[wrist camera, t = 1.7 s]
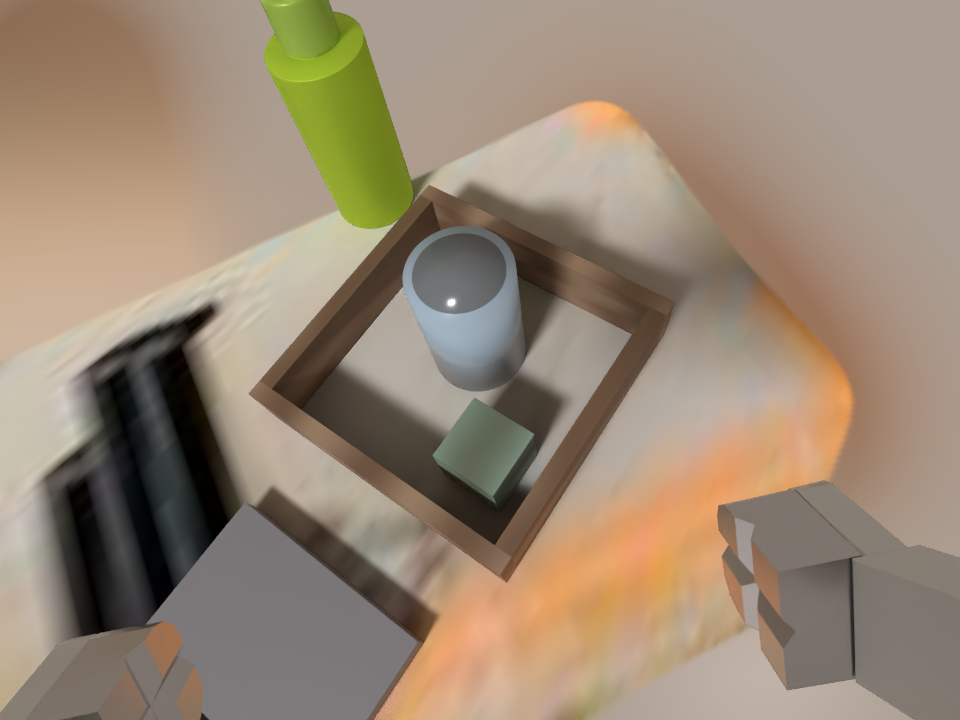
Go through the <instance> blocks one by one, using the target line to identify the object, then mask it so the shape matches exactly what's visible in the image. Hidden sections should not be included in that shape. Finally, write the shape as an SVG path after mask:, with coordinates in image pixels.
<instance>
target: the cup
mask: <svg viewBox="0 0 960 720" xmlns="http://www.w3.org/2000/svg"><path fill="white" fill-rule="evenodd" d="M403 287H404V291H405V294H406V296H407V299H408V301H409V303H410V306H411V308H412V310H413V312H414V315H415V317H416V319H417V321H418V324H419V326H420V328H421V330H422V333H423V335H424V337H425V340H426V342H427V344H428V346H429V349H430V351H431V353H432V355H433V358H434V360H435V362H436V364H437V367H438V369H439V371H440V372H441V374H442V375H443V376H444V378H445V379H446V380H447V381H449V382H450V383H451V384H453V385H454V386H456V387H458V388H461V389H464V390H468V391H487V390H491V389H494V388H497V387H499V386H501V385H503V384H505V383H506V382H508V381H509V380H510V379H511V378H512V377H513V376H514V375H515V374H516V373H517V372H518V370H519V369H520V367H521V365H522V363H523V360H524V357H525V351H526V345H525V336H524V328H523V320H522V311H521V303H520V295H519V287H518V278H517V270H516V263H515V258H514V255H513V253H512V251H511V249H510V248H509V246H508V245H507V244H506V243H505V242H504V240H503V239H501V238H500V237H499V236H497V235H496V234H494V233H492V232H490V231H488V230H486V229H482V228H479V227H473V226H456V227H450V228H447V229H443V230H441V231H438V232H436V233H434V234H432V235H430V236H428V237H427V238H425V239H424V240H423V241H422V242H420V243H419V244H418V245H417V246H416V247H415V248H414V250H413V251H412V252H411V254H410V255H409V257H408V259H407V261H406V264H405V266H404V270H403Z"/></svg>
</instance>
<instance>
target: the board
mask: <svg viewBox="0 0 960 720" xmlns="http://www.w3.org/2000/svg"><path fill="white" fill-rule="evenodd" d="M162 621H164V622H167V623H171V624H174V625H175V627H176V629H177V631H178V633H179V635H180V636H181V638H182V640H183V645H182V648H181V651H180V654H179V656H180V657H182V658H184V659H185V660H187V661H188V662H190V663H192V664H193V665H195V667H196V669H197V672H198V674H199V676H200V678H201V683H202V689H203V703H202V711H201V712H202V713H203V714H204V715H205V716H206V717H207V718H208V719H209V720H373V719H374V718H375V716H376V715H377V713H378V712H379V710H380V709H381V707H382V706H383V704H384V703H385V701H386V700H387V698H388V696H389V695H390V693H391V692H392V690H393V689H394V687H395V686H396V684H397V683H398V681H399V680H400V678H401V677H402V675H403V674H404V672H405V671H406V669H407V668H408V666H409V665H410V663H411V661H412V660H413V658H414V657H415V655H416V654H417V652H418V651H419V649H420V648H421V646H422V645H423V643H424V642H423V641H422V640H421V639H419V638H418V637H417V636H416V635H414V634H413V633H412V632H411V631H409V630H408V629H407V628H406V627H404V626H403V625H402V624H401V623H399V622H398V621H397V620H396V619H394V618H393V617H392V616H391V615H390V614H388V613H387V612H386V611H385V610H383V609H382V608H381V607H380V606H378V605H377V604H376V603H375V602H373V601H372V600H371V599H370V598H368V597H367V596H366V595H365V594H363V593H362V592H361V591H360V590H358V589H357V588H356V587H355V586H354V585H352V584H351V583H350V582H349V581H347V580H346V579H345V578H344V577H342V576H341V575H340V574H339V573H337V572H336V571H335V570H334V569H332V568H331V567H330V566H329V565H327V564H326V563H325V562H324V561H323V560H321V559H320V558H319V557H318V556H316V555H315V554H314V553H313V552H311V551H310V550H309V549H308V548H306V547H305V546H304V545H303V544H301V543H300V542H299V541H298V540H296V539H295V538H294V537H293V536H291V535H290V534H289V533H288V532H287V531H285V530H284V529H283V528H282V527H280V526H279V525H278V524H277V523H275V522H274V521H273V520H272V519H270V518H269V517H268V516H267V515H265V514H264V513H263V512H262V511H260V510H259V509H258V508H257V507H254V506H252V505H250V504H248V503H246V502H245V503H244V504H243V506H242V507H241V508H240V509H239V511H238V512H237V513H236V514H235V516H234V517H233V518H232V519H231V520H230V522H229V523H228V524H227V525H226V527H225V528H224V529H223V530H222V532H221V533H220V534H219V535H218V536H217V538H216V539H215V540H214V541H213V543H212V544H211V545H210V546H209V548H208V549H207V550H206V551H205V552H204V554H203V555H202V556H201V557H200V559H199V560H198V561H197V562H196V564H195V565H194V566H193V567H192V568H191V570H190V571H189V572H188V573H187V575H186V576H185V577H184V578H183V580H182V581H181V582H180V583H179V584H178V586H177V587H176V588H175V589H174V591H173V592H172V593H171V594H170V596H169V597H168V598H167V599H166V600H165V602H164V603H163V604H162V605H161V607H160V608H159V609H158V610H157V612H156V613H155V614H154V615H153V616H152V618H151V619H150V620H149V621H148V623H147V624H152V623H157V622H162Z"/></svg>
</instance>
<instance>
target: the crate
mask: <svg viewBox="0 0 960 720" xmlns="http://www.w3.org/2000/svg"><path fill="white" fill-rule="evenodd" d="M456 226H473V227H479V228H482V229H486V230H488V231H490V232H492V233H494V234H496V235H497V236H499V237H500V238H501V239H503V240H504V242H505V243H506V244H507V245H508V246H509V248H510V249H511V251H512V253H513V255H514V258H515V263H516V270H517V276H519V277H521V278H523V279H525V280H527V281H529V282H531V283H533V284H535V285H537V286H539V287H541V288H543V289H545V290H547V291H549V292H551V293H552V294H554V295H556V296H558V297H560V298H562V299H564V300H566V301H568V302H570V303H572V304H574V305H576V306H578V307H580V308H582V309H584V310H586V311H588V312H590V313H592V314H594V315H596V316H598V317H600V318H602V319H603V320H605V321H607V322H609V323H611V324H613V325H615V326H617V327H619V328H621V329H623V330H625V331H627V332H629V333H631V334H632V336H631V337H630V339H629V340H628V342H627V344H626V345H625V347H624V348H623V350H622V351H621V353H620V354H619V356H618V357H617V359H616V360H615V362H614V363H613V365H612V367H611V368H610V370H609V371H608V373H607V374H606V376H605V377H604V379H603V380H602V382H601V383H600V385H599V386H598V388H597V390H596V391H595V393H594V394H593V396H592V397H591V399H590V400H589V402H588V403H587V405H586V406H585V408H584V409H583V411H582V412H581V414H580V416H579V417H578V419H577V420H576V422H575V423H574V425H573V426H572V428H571V429H570V431H569V432H568V434H567V435H566V437H565V439H564V440H563V442H562V443H561V445H560V446H559V448H558V449H557V451H556V452H555V454H554V455H553V457H552V458H551V460H550V462H549V463H548V465H547V466H546V468H545V469H544V471H543V472H542V474H541V475H540V477H539V478H538V480H537V481H536V483H535V484H534V486H533V488H532V489H531V491H530V492H529V494H528V495H527V497H526V498H525V500H524V501H523V503H522V504H521V506H520V507H519V509H518V511H517V512H516V514H515V515H514V517H513V518H512V520H511V521H510V523H509V524H508V526H507V527H506V529H505V530H504V532H503V534H502V535H501V537H500V538H499V540H498V541H497V543H496V544H495V545H493V544H492V543H491V542H489V541H488V540H486V539H485V538H483V537H482V536H481V535H479V534H478V533H476V532H475V531H473V530H472V529H471V528H469V527H468V526H466V525H465V524H463V523H462V522H461V521H459V520H458V519H456V518H455V517H453V516H452V515H451V514H449V513H448V512H446V511H445V510H443V509H442V508H441V507H439V506H438V505H436V504H435V503H434V502H432V501H431V500H429V499H428V498H426V497H425V496H424V495H422V494H421V493H419V492H418V491H416V490H415V489H414V488H412V487H411V486H409V485H408V484H406V483H405V482H404V481H402V480H401V479H399V478H398V477H396V476H395V475H394V474H392V473H391V472H389V471H388V470H386V469H385V468H384V467H382V466H381V465H379V464H378V463H376V462H375V461H374V460H372V459H371V458H369V457H368V456H366V455H365V454H364V453H362V452H361V451H359V450H358V449H357V448H355V447H354V446H352V445H351V444H349V443H348V442H347V441H345V440H344V439H342V438H341V437H339V436H338V435H337V434H335V433H334V432H332V431H331V430H329V429H328V428H327V427H325V426H324V425H322V424H321V423H319V422H318V421H317V420H315V419H314V418H312V417H311V416H309V415H308V414H307V413H305V412H304V411H302V410H301V409H302V407H303V406H304V405H305V404H306V403H307V401H308V400H309V399H310V398H311V396H312V395H313V394H314V393H315V392H316V390H317V389H318V388H319V387H320V386H321V384H322V383H323V382H324V381H325V380H326V378H327V377H328V376H329V375H330V373H331V372H332V371H333V370H334V369H335V367H336V366H337V365H338V364H339V363H340V361H341V360H342V359H343V358H344V356H345V355H346V354H347V353H348V352H349V350H350V349H351V348H352V347H353V346H354V344H355V343H356V342H357V341H358V339H359V338H360V337H361V336H362V335H363V333H364V332H365V331H366V330H367V329H368V327H369V326H370V325H371V324H372V323H373V321H374V320H375V319H376V318H377V316H378V315H379V314H380V313H381V312H382V310H383V309H384V308H385V307H386V306H387V304H388V303H389V302H390V301H391V299H392V298H393V297H394V296H395V295H396V293H397V292H398V291H399V290H400V289H401V287H402V286H403V270H404V266H405V264H406V261H407V259H408V257H409V255H410V254H411V252H412V251H413V250H414V248H415V247H416V246H417V245H418V244H419V243H420V242H422V241H423V240H424V239H425V238H427V237H428V236H430V235H432V234H434V233H436V232H438V231H441V230H443V229H447V228H450V227H456ZM673 305H674V302H673V301H671V300H669V299H667V298H665V297H663V296H661V295H659V294H656V293H654V292H652V291H650V290H648V289H646V288H644V287H642V286H640V285H638V284H635V283H633V282H631V281H629V280H627V279H625V278H623V277H621V276H619V275H617V274H615V273H612V272H610V271H608V270H606V269H604V268H602V267H600V266H598V265H596V264H594V263H592V262H589V261H587V260H585V259H583V258H581V257H579V256H577V255H575V254H573V253H571V252H568V251H566V250H564V249H562V248H560V247H558V246H556V245H554V244H552V243H550V242H548V241H545V240H543V239H541V238H539V237H537V236H535V235H533V234H531V233H529V232H527V231H525V230H522V229H520V228H518V227H516V226H514V225H512V224H510V223H508V222H506V221H504V220H501V219H499V218H497V217H495V216H493V215H491V214H489V213H487V212H485V211H483V210H481V209H478V208H476V207H474V206H472V205H470V204H468V203H466V202H464V201H462V200H460V199H457V198H455V197H453V196H451V195H449V194H447V193H445V192H443V191H441V190H439V189H437V188H434V187H432V186H430V185H429V186H428V187H427V188H426V189H425V190H424V191H423V193H422V194H421V195H420V196H419V197H418V198H417V200H416V201H415V202H414V203H413V204H412V205H411V206H410V208H409V209H408V210H407V211H406V212H405V213H404V215H403V216H402V217H401V218H400V219H399V220H398V221H397V223H396V224H395V225H394V226H393V227H392V228H391V230H390V231H389V232H388V233H387V234H386V235H385V237H384V238H383V239H382V240H381V241H380V242H379V243H378V245H377V246H376V247H375V248H374V249H373V250H372V252H371V253H370V254H369V255H368V256H367V257H366V259H365V260H364V261H363V262H362V263H361V264H360V265H359V267H358V268H357V269H356V270H355V271H354V272H353V274H352V275H351V276H350V277H349V278H348V279H347V280H346V282H345V283H344V284H343V285H342V286H341V287H340V289H339V290H338V291H337V292H336V293H335V294H334V296H333V297H332V298H331V299H330V300H329V301H328V302H327V304H326V305H325V306H324V307H323V308H322V309H321V311H320V312H319V313H318V314H317V315H316V316H315V317H314V319H313V320H312V321H311V322H310V323H309V324H308V326H307V327H306V328H305V329H304V330H303V331H302V333H301V334H300V335H299V336H298V337H297V338H296V339H295V341H294V342H293V343H292V344H291V345H290V346H289V348H288V349H287V350H286V351H285V352H284V353H283V354H282V356H281V357H280V358H279V359H278V360H277V361H276V363H275V364H274V365H273V366H272V367H271V368H270V370H269V371H268V372H267V373H266V374H265V375H264V376H263V378H262V379H261V380H260V381H259V382H258V383H257V385H256V386H255V387H254V388H253V389H252V390H251V391H250V393H249V395H250V396H252V397H253V398H254V399H255V400H256V401H258V402H259V403H260V404H261V405H263V406H264V407H265V408H266V409H268V410H269V411H270V412H271V413H272V414H274V415H275V416H276V417H277V418H279V419H280V420H282V421H283V422H284V423H286V424H287V425H289V426H290V427H291V428H293V429H294V430H295V431H297V432H298V433H300V434H301V435H302V436H304V437H305V438H307V439H308V440H309V441H311V442H312V443H314V444H315V445H316V446H318V447H319V448H320V449H322V450H323V451H325V452H326V453H327V454H329V455H330V456H332V457H333V458H334V459H336V460H337V461H338V462H340V463H341V464H343V465H344V466H345V467H347V468H348V469H350V470H351V471H352V472H354V473H355V474H357V475H358V476H359V477H361V478H362V479H363V480H365V481H366V482H368V483H369V484H370V485H372V486H373V487H375V488H376V489H377V490H379V491H380V492H381V493H383V494H384V495H386V496H387V497H388V498H390V499H391V500H393V501H394V502H395V503H397V504H398V505H400V506H401V507H402V508H404V509H405V510H406V511H408V512H409V513H411V514H412V515H413V516H415V517H416V518H418V519H419V520H420V521H422V522H423V523H425V524H426V525H427V526H429V527H430V528H431V529H433V530H434V531H436V532H437V533H438V534H440V535H441V536H443V537H444V538H445V539H447V540H448V541H449V542H451V543H452V544H454V545H455V546H456V547H458V548H459V549H461V550H462V551H463V552H465V553H466V554H468V555H469V556H470V557H472V558H473V559H474V560H476V561H477V562H479V563H480V564H481V565H483V566H484V567H486V568H487V569H488V570H490V571H491V572H492V573H494V574H495V575H497V576H498V577H499V578H501V579H502V580H504V581H505V582H506V583H507V582H508V580H509V578H510V577H511V575H512V574H513V572H514V571H515V569H516V567H517V566H518V564H519V563H520V561H521V560H522V558H523V556H524V555H525V553H526V552H527V550H528V548H529V547H530V545H531V544H532V542H533V541H534V539H535V537H536V536H537V534H538V533H539V531H540V529H541V528H542V526H543V525H544V523H545V522H546V520H547V518H548V517H549V515H550V514H551V512H552V511H553V509H554V507H555V506H556V504H557V503H558V501H559V499H560V498H561V496H562V495H563V493H564V492H565V490H566V488H567V487H568V485H569V484H570V482H571V480H572V479H573V477H574V476H575V474H576V473H577V471H578V469H579V468H580V466H581V465H582V463H583V462H584V460H585V458H586V457H587V455H588V454H589V452H590V450H591V449H592V447H593V446H594V444H595V443H596V441H597V439H598V438H599V436H600V435H601V433H602V431H603V430H604V428H605V427H606V425H607V424H608V422H609V420H610V419H611V417H612V416H613V414H614V413H615V411H616V409H617V408H618V406H619V405H620V403H621V401H622V400H623V398H624V397H625V395H626V394H627V392H628V390H629V389H630V387H631V386H632V384H633V382H634V381H635V379H636V378H637V376H638V375H639V373H640V371H641V370H642V368H643V367H644V365H645V364H646V362H647V360H648V359H649V357H650V356H651V354H652V352H653V351H654V349H655V348H656V346H657V345H658V343H659V341H660V340H661V338H662V337H663V335H664V333H665V329H666V326H667V323H668V320H669V317H670V314H671V311H672V308H673Z"/></svg>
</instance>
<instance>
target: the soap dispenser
mask: <svg viewBox="0 0 960 720" xmlns="http://www.w3.org/2000/svg"><path fill="white" fill-rule="evenodd" d="M260 1H261V3H262V6H263V8H264V10H265V12H266V14H267V16H268V18H269V20H270V23H271V25H272V27H273V29H274V31H275V34H274V35H273V36H272V37H271V39H270V40H269V42H268V44H267V46H266V49H265V53H264V58H265V59H264V60H265V64H266V66H267V68H268V70H269V72H270V74H271V76H272V78H273V80H274V82H275V84H276V86H277V88H278V90H279V92H280V94H281V96H282V98H283V100H284V102H285V104H286V106H287V108H288V110H289V112H290V114H291V116H292V118H293V119H294V121H295V124H296V126H297V128H298V129H299V131H300V133H301V135H302V137H303V139H304V141H305V143H306V145H307V147H308V149H309V151H310V153H311V155H312V157H313V159H314V161H315V163H316V165H317V167H318V169H319V171H320V173H321V175H322V177H323V179H324V181H325V183H326V185H327V187H328V189H329V191H330V193H331V194H332V196H333V198H334V200H335V202H336V204H337V206H338V208H339V210H340V212H341V214H342V216H343V217H344V218H345V220H347V221H348V222H349V223H351V224H352V225H354V226H357V227H360V228H368V229H371V228H379V227H383V226H386V225H389V224H391V223H393V222H395V221H396V220H398V219H399V218H401V217H402V216H403V215H404V213H405V212H406V211H407V210H408V209H409V207H410V205H411V203H412V201H413V196H414V189H413V185H412V182H411V179H410V176H409V173H408V170H407V166H406V163H405V160H404V158H403V154H402V151H401V148H400V145H399V142H398V139H397V136H396V132H395V129H394V126H393V123H392V120H391V117H390V114H389V111H388V108H387V104H386V102H385V98H384V95H383V92H382V89H381V86H380V83H379V80H378V77H377V73H376V70H375V67H374V64H373V61H372V58H371V55H370V52H369V49H368V46H367V42H366V39H365V36H364V34H363V30H362V28H361V26H360V25H359V23H358V22H357V21H356V20H355V19H353V18H352V17H350V16H348V15H346V14H342V13H339V12H333V11H332V8H331V6H330V3H329V0H260Z"/></svg>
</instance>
